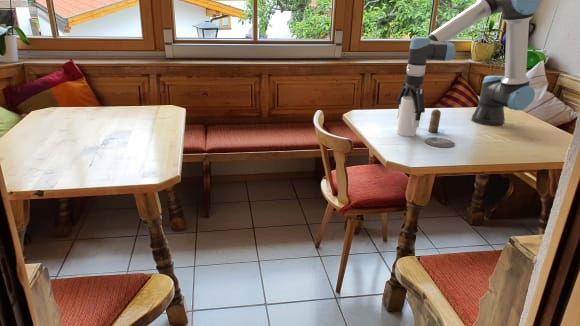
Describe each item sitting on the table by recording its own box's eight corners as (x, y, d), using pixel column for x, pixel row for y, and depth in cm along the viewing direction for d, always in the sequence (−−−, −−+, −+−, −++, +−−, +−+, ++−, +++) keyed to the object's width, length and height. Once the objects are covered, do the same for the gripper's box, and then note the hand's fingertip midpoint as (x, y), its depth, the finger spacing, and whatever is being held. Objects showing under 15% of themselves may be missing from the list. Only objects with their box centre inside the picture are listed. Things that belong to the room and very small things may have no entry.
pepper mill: (434, 130, 198) (438, 108, 194) (439, 132, 194) (443, 110, 190) (426, 130, 197) (430, 108, 193) (431, 133, 193) (435, 110, 189)
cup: (416, 137, 187) (422, 101, 181) (397, 135, 188) (402, 99, 182) (415, 131, 194) (420, 97, 188) (396, 130, 196) (401, 95, 190)
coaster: (443, 138, 188) (444, 136, 187) (460, 147, 177) (460, 145, 176) (419, 139, 185) (419, 137, 184) (434, 148, 174) (434, 147, 174)
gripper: (393, 69, 192) (387, 115, 200) (422, 80, 169) (413, 131, 177) (408, 69, 194) (401, 114, 202) (439, 80, 171) (430, 131, 179)
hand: (407, 122), depth 189 cm, fingers open, 13 cm apart
